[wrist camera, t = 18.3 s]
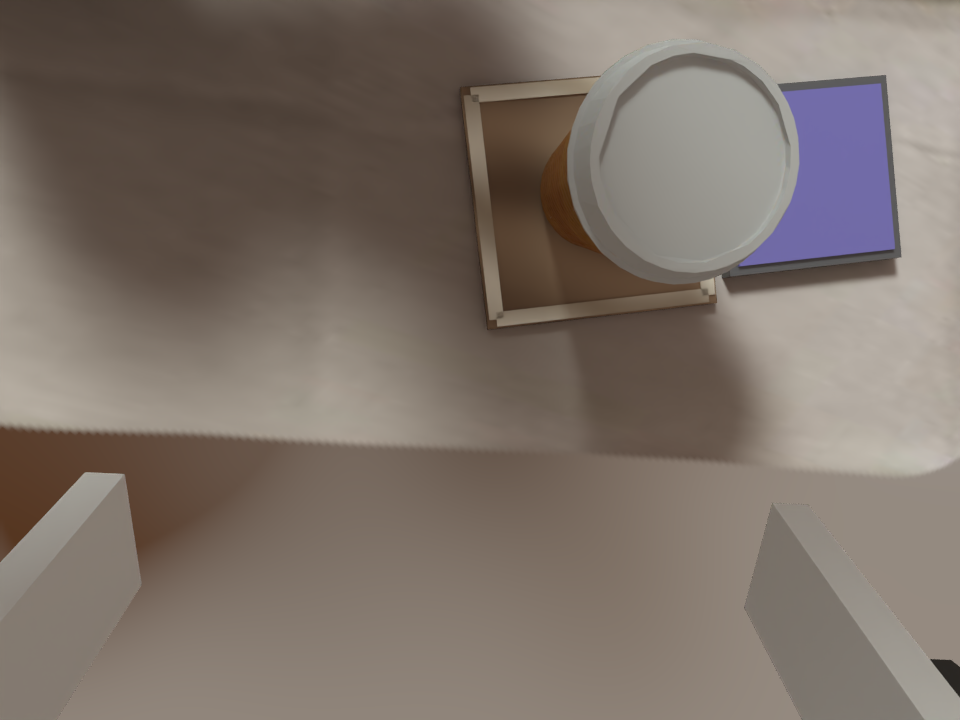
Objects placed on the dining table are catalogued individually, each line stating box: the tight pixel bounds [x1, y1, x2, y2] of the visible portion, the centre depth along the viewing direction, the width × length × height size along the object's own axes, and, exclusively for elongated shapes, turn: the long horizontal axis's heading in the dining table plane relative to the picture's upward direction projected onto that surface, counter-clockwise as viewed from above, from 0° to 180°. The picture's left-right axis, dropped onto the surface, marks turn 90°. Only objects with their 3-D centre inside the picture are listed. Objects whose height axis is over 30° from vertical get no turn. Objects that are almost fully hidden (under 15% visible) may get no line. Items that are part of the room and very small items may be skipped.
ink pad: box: [722, 75, 901, 278], centre depth 40 cm, size 10×10×1 cm
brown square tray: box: [460, 76, 717, 330], centre depth 39 cm, size 13×13×1 cm
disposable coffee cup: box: [540, 39, 799, 285], centre depth 33 cm, size 10×10×12 cm
